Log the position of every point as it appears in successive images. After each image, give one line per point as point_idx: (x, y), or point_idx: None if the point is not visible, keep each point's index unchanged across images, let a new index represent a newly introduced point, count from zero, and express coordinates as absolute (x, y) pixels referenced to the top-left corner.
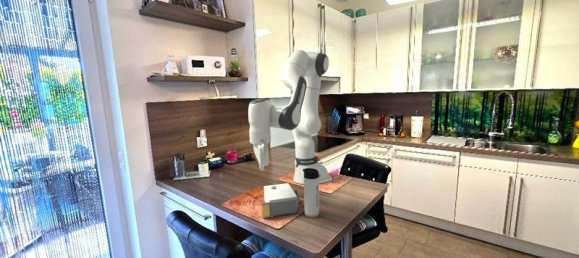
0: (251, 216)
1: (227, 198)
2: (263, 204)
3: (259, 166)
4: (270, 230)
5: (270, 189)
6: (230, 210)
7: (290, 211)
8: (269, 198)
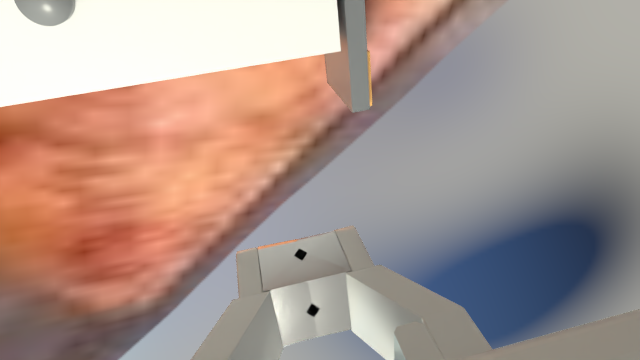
0: (297, 142)
1: (44, 306)
2: (367, 95)
3: (292, 332)
4: (465, 31)
5: (85, 35)
6: (212, 256)
7: None
8: (305, 50)
